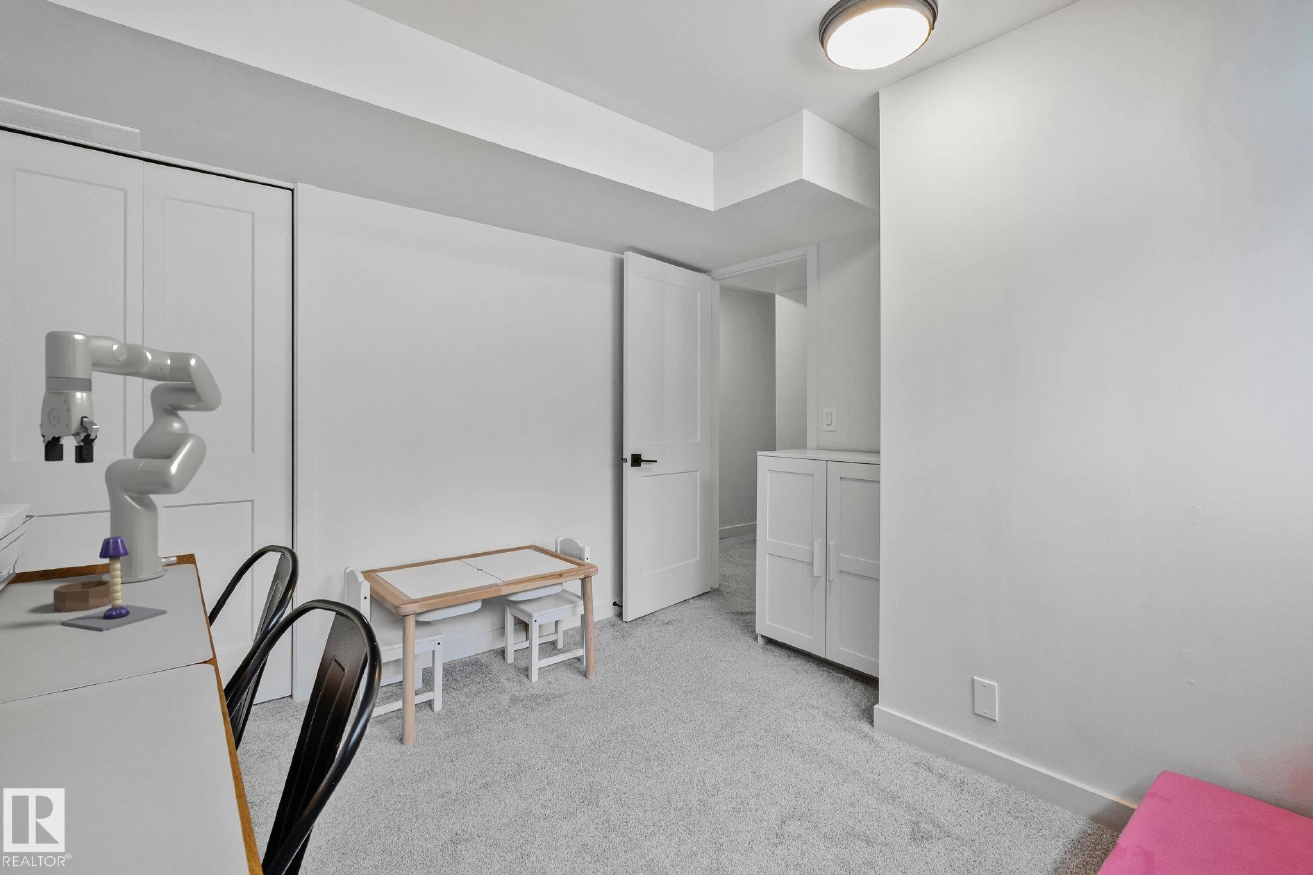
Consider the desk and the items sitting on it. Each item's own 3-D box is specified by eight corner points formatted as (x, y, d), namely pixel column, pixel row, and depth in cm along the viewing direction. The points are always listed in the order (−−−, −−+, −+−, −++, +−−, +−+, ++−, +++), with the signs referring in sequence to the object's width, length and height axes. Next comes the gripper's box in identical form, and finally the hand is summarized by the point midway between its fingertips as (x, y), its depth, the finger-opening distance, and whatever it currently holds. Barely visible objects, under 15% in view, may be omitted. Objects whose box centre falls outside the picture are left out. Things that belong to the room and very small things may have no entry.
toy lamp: (113, 619, 123) (113, 538, 124) (92, 619, 124) (92, 538, 124) (135, 612, 128) (135, 535, 128) (115, 612, 128) (115, 535, 129)
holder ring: (94, 597, 140) (94, 578, 140) (122, 601, 138) (122, 582, 138) (45, 609, 131) (45, 588, 131) (74, 613, 129) (74, 592, 129)
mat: (126, 607, 134) (126, 604, 134) (166, 612, 131) (166, 610, 131) (61, 624, 122) (61, 621, 122) (103, 631, 119) (103, 628, 119)
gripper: (21, 385, 133) (21, 461, 134) (75, 385, 129) (75, 464, 129) (62, 387, 141) (62, 459, 141) (115, 388, 136) (115, 462, 136)
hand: (69, 462), depth 135 cm, fingers open, 9 cm apart
